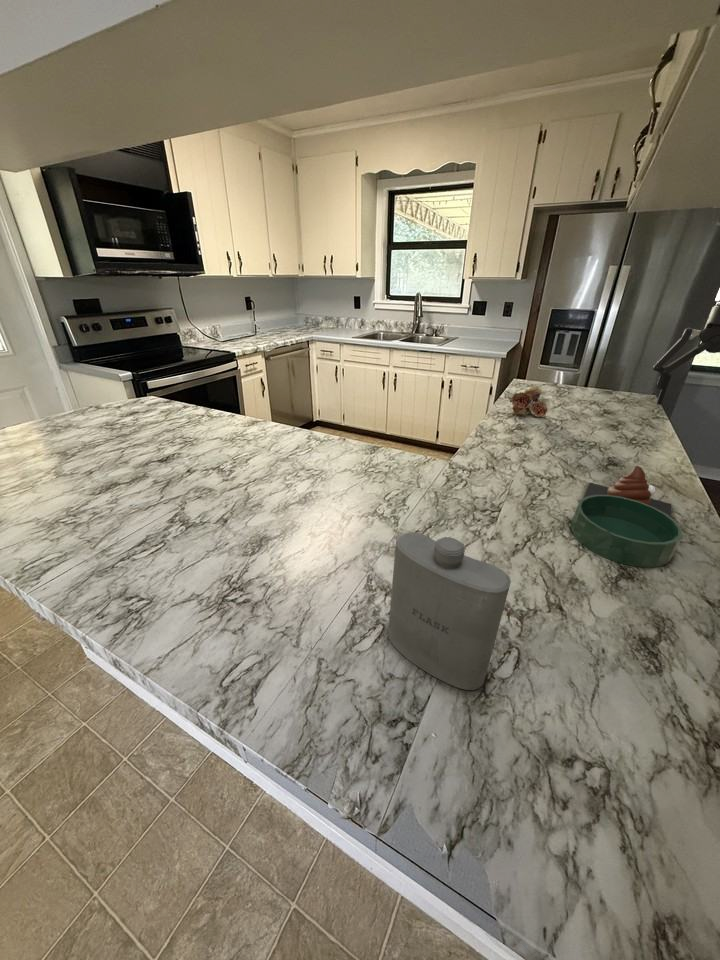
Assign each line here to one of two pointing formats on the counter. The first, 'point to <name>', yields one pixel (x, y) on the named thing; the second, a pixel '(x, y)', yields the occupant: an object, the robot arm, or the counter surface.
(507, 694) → the counter surface
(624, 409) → the counter surface
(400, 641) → the flask
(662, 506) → the mat
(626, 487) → the poop emoji
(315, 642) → the counter surface
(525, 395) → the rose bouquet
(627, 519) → the green round dish
